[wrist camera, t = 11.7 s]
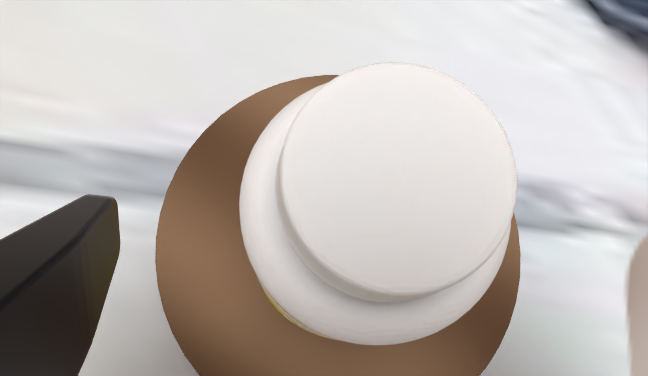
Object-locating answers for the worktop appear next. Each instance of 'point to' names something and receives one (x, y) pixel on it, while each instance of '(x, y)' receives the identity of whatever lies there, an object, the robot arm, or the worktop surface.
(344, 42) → the worktop surface
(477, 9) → the worktop surface
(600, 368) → the worktop surface
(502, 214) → the supplement bottle
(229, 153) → the walnut platform
